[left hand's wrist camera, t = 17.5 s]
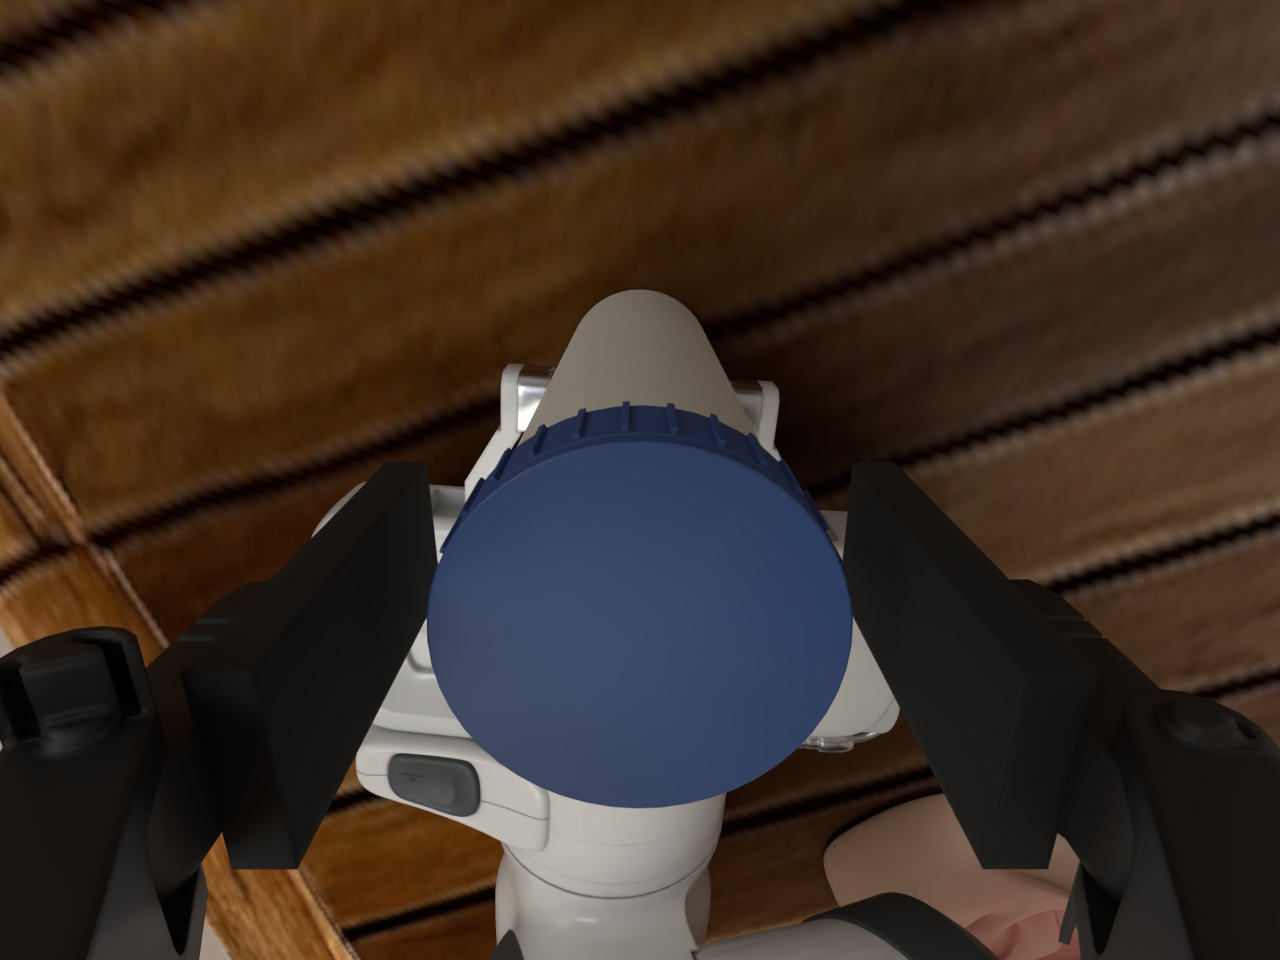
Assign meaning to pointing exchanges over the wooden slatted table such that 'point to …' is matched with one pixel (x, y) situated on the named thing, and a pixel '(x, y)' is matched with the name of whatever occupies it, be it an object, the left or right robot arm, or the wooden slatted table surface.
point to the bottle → (639, 364)
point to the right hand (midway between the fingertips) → (640, 375)
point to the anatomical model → (956, 879)
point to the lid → (639, 609)
